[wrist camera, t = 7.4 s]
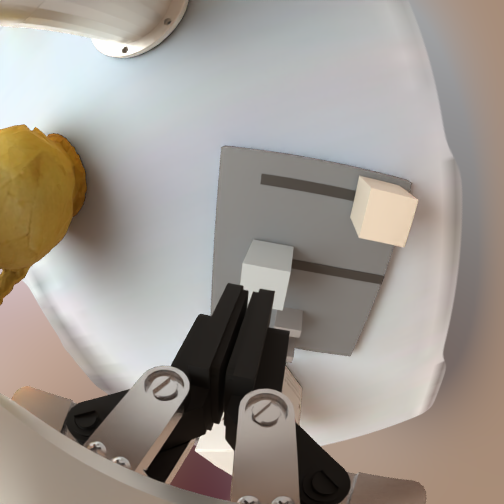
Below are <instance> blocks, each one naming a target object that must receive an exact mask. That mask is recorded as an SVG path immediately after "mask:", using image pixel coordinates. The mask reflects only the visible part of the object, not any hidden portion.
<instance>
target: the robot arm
mask: <svg viewBox="0 0 504 504" xmlns="http://www.w3.org/2000/svg"><path fill="white" fill-rule="evenodd" d="M188 2H189V0H0V26H5V27H19V28H31V29H40V30H48V31H55V32H61V33H67V34H72V35H78V36H83V37H87V38H91V39H92V42H93V44H94V45H95V47H96V48H97V49H98V50H99V51H100V52H101V53H103V54H105V55H107V56H110V57H115V58H129V57H134V56H137V55H140V54H142V53H144V52H147V51H149V50H150V49H152V48H153V47H155V46H157V45H158V44H159V43H161V42H162V41H163V40H164V39H165V38H167V37H168V36H169V34H170V33H171V32H172V31H173V30H174V29H175V28H176V26H177V25H178V23H179V22H180V21H181V19H182V17H183V15H184V13H185V11H186V8H187V5H188ZM248 294H249V291H248V290H244V286H243V285H237V284H232V283H228V284H227V285H226V288H225V290H224V292H223V294H222V296H221V298H220V300H219V302H218V304H217V306H216V308H215V310H214V312H213V314H212V316H208V315H203V314H200V315H198V317H197V318H196V320H195V322H194V324H193V326H192V328H191V329H190V331H189V333H188V335H187V337H186V339H185V340H184V342H183V344H182V346H181V348H180V350H179V351H178V353H177V355H176V357H175V359H174V361H173V363H172V364H171V366H157V367H154V368H151V369H149V370H147V371H146V372H145V373H144V374H143V375H142V376H141V377H140V378H139V380H138V381H137V382H136V383H135V384H134V385H133V387H132V388H131V389H128V390H125V391H121V392H118V393H114V394H111V395H107V396H103V397H100V398H96V399H92V400H88V401H84V402H81V403H78V404H76V403H74V402H73V400H71V399H67V398H63V397H60V396H57V395H54V394H51V393H47V392H44V391H41V390H39V389H35V388H33V387H28V386H26V387H22V388H20V389H18V390H17V391H16V392H15V394H14V395H13V397H12V399H9V398H8V397H6V396H4V395H2V394H0V504H425V503H426V491H425V489H424V487H423V486H422V485H421V484H420V483H419V482H416V481H412V480H404V479H396V478H389V477H382V476H376V475H371V474H365V473H360V472H359V473H358V474H353V473H349V472H346V471H345V469H344V468H343V467H342V466H340V465H339V464H338V463H337V462H336V461H335V460H334V459H333V458H332V457H331V456H330V455H329V454H328V453H327V452H325V451H324V450H323V449H322V448H321V447H320V446H319V445H318V444H317V443H316V442H315V441H314V440H313V439H312V438H311V437H310V436H309V435H308V434H307V433H306V432H305V431H304V430H303V429H302V428H301V427H300V426H299V425H298V424H297V423H296V422H295V412H294V407H293V404H292V402H291V401H290V399H289V398H288V397H287V396H285V395H284V394H283V393H282V387H283V380H284V373H285V366H286V358H287V351H288V343H289V335H290V331H288V330H282V329H276V328H270V327H269V325H270V319H271V313H272V307H273V301H274V294H275V291H272V290H266V289H259V292H254V291H253V293H252V296H251V299H250V302H249V305H248V308H247V304H248ZM223 412H224V426H226V427H225V440H226V441H227V442H228V444H229V445H230V446H231V448H232V449H233V450H234V460H233V472H232V484H231V496H230V497H231V498H230V501H226V500H221V499H217V498H213V497H209V496H204V495H201V494H197V493H194V492H190V491H187V490H184V489H180V488H177V487H174V486H171V485H169V484H170V483H171V481H172V479H173V478H174V476H175V475H176V473H177V471H178V470H179V468H180V466H181V465H182V463H183V461H184V459H185V458H186V456H187V455H188V453H189V451H190V450H191V448H192V446H193V445H194V443H195V441H196V438H197V437H200V436H202V435H205V434H206V431H207V430H210V431H211V430H212V427H213V424H214V423H215V424H220V421H221V418H222V415H223Z"/></svg>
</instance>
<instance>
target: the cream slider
mask: <svg viewBox="0 0 504 504" xmlns="http://www.w3.org/2000/svg"><path fill="white" fill-rule="evenodd" d="M417 203H418V199H416V198H415V197H414V196H413V195H411V194H410V193H409V192H407V191H406V190H405V189H403V188H402V187H401V186H399V185H396V184H392V183H388V182H384V181H380V180H376V179H372V178H368V177H363V176H359V179H358V184H357V189H356V194H355V198H354V203H353V207H352V211H351V216H350V218H351V220H352V223H353V225H354V227H355V230H356V232H357V235H358V237H359V238H362V239H367V240H372V241H377V242H382V243H386V244H391V245H396V246H400V247H405V243H406V240H407V237H408V234H409V231H410V228H411V224H412V221H413V217H414V214H415V210H416V207H417Z"/></svg>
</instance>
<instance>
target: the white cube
mask: <svg viewBox="0 0 504 504" xmlns="http://www.w3.org/2000/svg"><path fill="white" fill-rule="evenodd" d="M293 249H294V247H292V246H287V245H281V244H276V243H270V242H265V241H259V240H253V241H252V243H251V245H250V248H249V250H248V252H247V254H246V257H245V259H244V261H243V263H242V272H241V282H240V285H243V286H244V290H248V291H249V294H248V304H249V302H250V299H251V296H252V293H253V291H254V292H259V289H266V290H272V291H275V294H274V301H273V307H272V309H276V310H283V306H284V301H285V297H286V292H287V287H288V283H289V278H290V273H291V265H292V257H293Z"/></svg>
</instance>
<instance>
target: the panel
mask: <svg viewBox="0 0 504 504" xmlns="http://www.w3.org/2000/svg"><path fill="white" fill-rule="evenodd" d="M359 176H363V177H368V178H372V179H376V180H380V181H384V182H388V183H392V184H396V185H399V186H401V187H402V188H403V189H405V190H406V191H407V192H410V188H411V184H412V183H411V182H409V181H408V180H405V179H402V178H398V177H394V176H391V175H387V174H383V173H379V172H375V171H371V170H367V169H362V168H358V167H354V166H349V165H345V164H340V163H335V162H330V161H325V160H320V159H315V158H309V157H304V156H298V155H292V154H285V153H279V152H272V151H265V150H258V149H250V148H242V147H233V146H223V147H221V157H220V168H219V180H218V193H217V206H216V221H215V237H214V254H213V273H212V296H211V316H212V314H213V312H214V310H215V308H216V306H217V304H218V302H219V300H220V298H221V296H222V294H223V292H224V290H225V288H226V285H227V284H228V283H232V284H237V285H240V282H241V272H242V263H243V261H244V259H245V257H246V254H247V252H248V250H249V248H250V245H251V243H252V241H253V240H259V241H265V242H270V243H276V244H281V245H287V246H292V247H294V249H293V257H292V265H291V273H290V278H289V283H288V287H287V292H286V297H285V301H284V306H283V310H276V309H272V313H271V319H270V325H269V327H270V328H276V329H282V330H288V331H290V335H289V336H290V338H289V343H288V351H287V358H286V362H289V363H292V360H293V357H294V348H297V349H303V350H309V351H315V352H322V353H329V354H337V355H344V356H351V354H352V352H353V350H354V347H355V345H356V343H357V341H358V339H359V336H360V334H361V332H362V330H363V327H364V325H365V323H366V320H367V318H368V316H369V313H370V311H371V308H372V306H373V304H374V301H375V298H376V296H377V293H378V291H379V288H380V285H381V284H382V281H383V278H384V275H385V272H386V269H387V266H388V263H389V260H390V257H391V254H392V251H393V248H394V245H391V244H386V243H382V242H377V241H372V240H367V239H362V238H359V237H358V235H357V232H356V230H355V227H354V225H353V223H352V220H351V218H350V216H351V211H352V207H353V203H354V198H355V194H356V189H357V184H358V179H359ZM248 305H249V304H247V308H248Z"/></svg>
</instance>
